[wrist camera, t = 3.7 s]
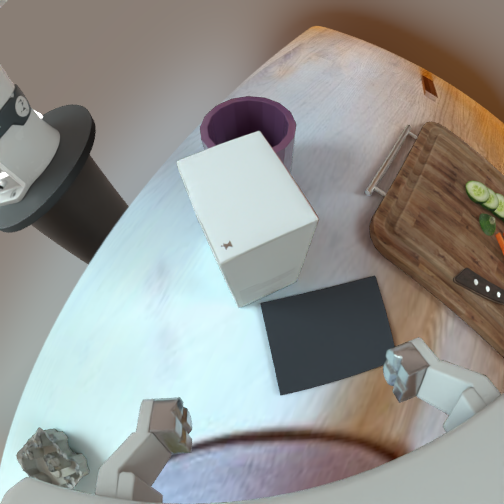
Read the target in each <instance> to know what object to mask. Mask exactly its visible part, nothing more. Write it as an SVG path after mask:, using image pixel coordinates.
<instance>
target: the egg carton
mask: <svg viewBox="0 0 504 504" xmlns="http://www.w3.org/2000/svg"><path fill="white" fill-rule="evenodd" d="M67 440H68V437H67V436H66V435H65V434H64V432H57V431H56V430H55V429H48V430H42V429H41V428H38V430H37V431H36V433H35V434H34V435H33V436H32V437H31V438H30V439H28V441H27V443H26V444H25V445H24V447H23V448H22V449H21V450H20V451H19V452H18V453H17V459H18V462H19V463H20V465H21V466H22V469H23V471H25V472H26V473H27V474H28V476H29V477H32V478H35V479H38V480H41V481H44V482H47V483H50V484H53V485H57V486H60V487H64V488H68V489H73V488H74V487H75V486H76V484H77V483H78V482H79V480H80V478H82V477H83V476H85V475H87V474H89V472H90V471H89V469H88V467H87V459H86V458H85V457H84V456H83V454H82V453H81V454H76V453H74V452H73V451H72V450H71V449H70V448H69V445H68V442H67Z"/></svg>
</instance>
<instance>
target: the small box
mask: <svg viewBox="0 0 504 504" xmlns="http://www.w3.org/2000/svg"><path fill="white" fill-rule="evenodd" d="M177 167H178V170H179V172H180V175H181V178H182V180H183V183H184V185H185V188H186V191H187V193H188V196H189V198H190V201H191V204H192V206H193V209H194V211H195V214H196V216H197V219H198V221H199V223H200V225H201V227H202V229H203V232H204V234H205V236H206V239H207V241H208V243H209V246H210V248H211V250H212V252H213V255H214V257H215V259H216V261H217V264H218V266H219V268H220V270H221V273H222V275H223V277H224V279H225V282H226V284H227V286H228V288H229V290H230V292H231V294H232V296H233V298H234V300H235V302H236V304H237V306H238V308H241V307H243V306H245V305H247V304H249V303H252V302H254V301H256V300H258V299H260V298H263V297H265V296H267V295H269V294H271V293H273V292H276V291H278V290H280V289H282V288H284V287H286V286H289V285H291V284H293V283H295V282H296V281H297V279H298V276H299V273H300V271H301V268H302V266H303V263H304V260H305V257H306V254H307V252H308V249H309V246H310V243H311V240H312V238H313V235H314V232H315V229H316V226H317V223H318V220H319V218H318V216H317V214H316V213H315V211H314V210H313V208H312V206H311V205H310V203H309V202H308V200H307V199H306V197H305V196H304V194H303V193H302V191H301V189H300V188H299V186H298V185H297V183H296V182H295V180H294V179H293V177H292V176H291V175H290V173H289V171H288V170H287V168H286V167H285V166H284V164H283V163H282V161H281V160H280V158H279V157H278V155H277V154H276V153H275V151H274V150H273V148H272V147H271V145H270V144H269V143H268V141H267V140H266V138H265V137H264V136H263V134H262V133H261V131H257V132H254V133H251V134H248V135H245V136H242V137H239V138H236V139H233V140H230V141H228V142H225V143H222V144H219V145H217V146H214V147H211V148H209V149H206V150H204V151H201V152H198V153H196V154H193V155H191V156H188V157H186V158H183V159H181V160H178V161H177Z"/></svg>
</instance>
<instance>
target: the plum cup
mask: <svg viewBox="0 0 504 504" xmlns="http://www.w3.org/2000/svg"><path fill="white" fill-rule="evenodd" d="M257 131H261V133H262V134H263V136H264V137H265V138H266V140H267V141H268V143H269V144H270V145H271V147H272V148H273V150H274V151H275V153H276V154H277V155H278V157H279V158H280V160H281V161H282V163H283V164H284V166H285V167H286V168H287V170H288V171H289V173H290V175H291V167H292V158H293V150H294V141H295V132H296V122H295V120H294V118H293V116H292V114H291V112H290V111H289V110H288V109H286V108H285V107H284V106H283V105H281V104H280V103H278V102H275V101H273V100H270V99H267V98H263V97H251V96H246V97H240V98H234V99H230V100H228V101H226V102H223V103H221V104H219V105H217V106H215V107H214V108H213V109H212V110H211V111H210V112H209V113H208V114H207V115H206V116H205V117H204V119H203V122H202V124H201V126H200V132H201V140H202V144H203V147H204V150H206V149H209V148H211V147H214V146H217V145H219V144H222V143H225V142H228V141H230V140H233V139H236V138H239V137H242V136H245V135H248V134H251V133H254V132H257Z"/></svg>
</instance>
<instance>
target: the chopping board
mask: <svg viewBox="0 0 504 504" xmlns="http://www.w3.org/2000/svg"><path fill="white" fill-rule="evenodd" d="M410 130H411V126H410V125H407V126H406V127H405V129H404V131H403V132H402V134H401V136H400V137H399V139H398V141H397V142H396V144H395V145H394V147H393V149H392V150H391V152H390V154H389V155H388V157H387V158H386V160H385V161H384V163H383V165H382V166H381V168H380V169H379V171H378V172H377V174H376V175H375V177H374V179H373V180H372V182H371V183H370V185H369V186H368V188H367V189H366V191H365V193H366V195H368V196H370V195H371V194H372V193H373V191H374V190H375V191H376V192H378V193H379V194H381V195H382V196H384V199H383V200H382V202H381V204H380V205H379V207H378V209H377V210H376V212H375V214H374V215H373V217H372V220H371V223H370V226H369V227H370V237H371V239H372V241H373V243H374V246H375V248H376V249H377V250H378V251H379V252H380V253H381V254H382V255H383V256H384V257H386V258H387V259H388V260H390V261H391V262H392V263H394V264H395V265H396V266H397V267H399V268H400V269H401V270H403V271H404V272H405V273H407V274H408V275H409V276H410V277H412V278H413V279H414V280H415V281H417V282H418V283H419V284H421V285H422V286H423V287H424V288H426V289H427V290H428V291H429V292H430V293H432V294H433V295H434V296H435V297H437V298H438V299H439V300H440V301H441V302H443V303H444V304H445V305H446V306H447V307H449V308H450V309H451V310H452V311H453V312H454V313H456V314H457V315H458V316H459V317H460V318H461V319H462V320H464V321H465V322H466V323H467V324H468V325H469V326H470V327H471V328H473V329H474V330H475V331H476V332H477V333H478V334H479V335H480V336H481V337H483V338H484V339H485V340H486V341H487V342H488V343H489V344H490V345H491V346H492V347H493V348H494V349H495V350H496V351H497V352H498V353H499V354H501V355H502V356H503V357H504V176H503V175H502V174H501V173H500V172H499V171H498V170H497V169H496V168H495V167H494V166H493V165H491V164H490V163H489V162H488V161H487V160H486V159H485V158H484V157H482V156H481V155H480V154H479V153H478V152H477V151H475V150H474V149H473V148H472V147H470V146H469V145H468V144H467V143H465V142H464V141H463V140H462V139H460V138H459V137H458V136H456V135H455V134H454V133H452V132H451V131H450V130H448V129H447V128H446V127H444V126H442V125H441V124H439V123H435V122H427V123H426V124H424V126H423V128H422V129H421V131H420V133H419V135H418V136H416V135H415V134H413V133H412V132H410ZM408 134H409V135H410V136H412V137H413V138H415V139H416V141H415V143H414V145H413V147H412V149H411V151H410V152H409V154H408V156H407V158H406V160H405V162H404V164H403V165H402V167H401V169H400V171H399V173H398V174H397V176H396V178H395V180H394V181H393V183H392V185H391V187H390V188H389V190H388V192H387V193H385V192H384V191H383V190H381V189H380V188H378V187H377V185H378V183H379V182H380V180H381V178H382V177H383V175H384V173H385V172H386V170H387V169H388V167H389V165H390V164H391V162H392V160H393V159H394V157H395V155H396V154H397V152H398V150H399V149H400V147H401V145H402V143H403V142H404V140H405V138H406V137H407V135H408Z"/></svg>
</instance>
